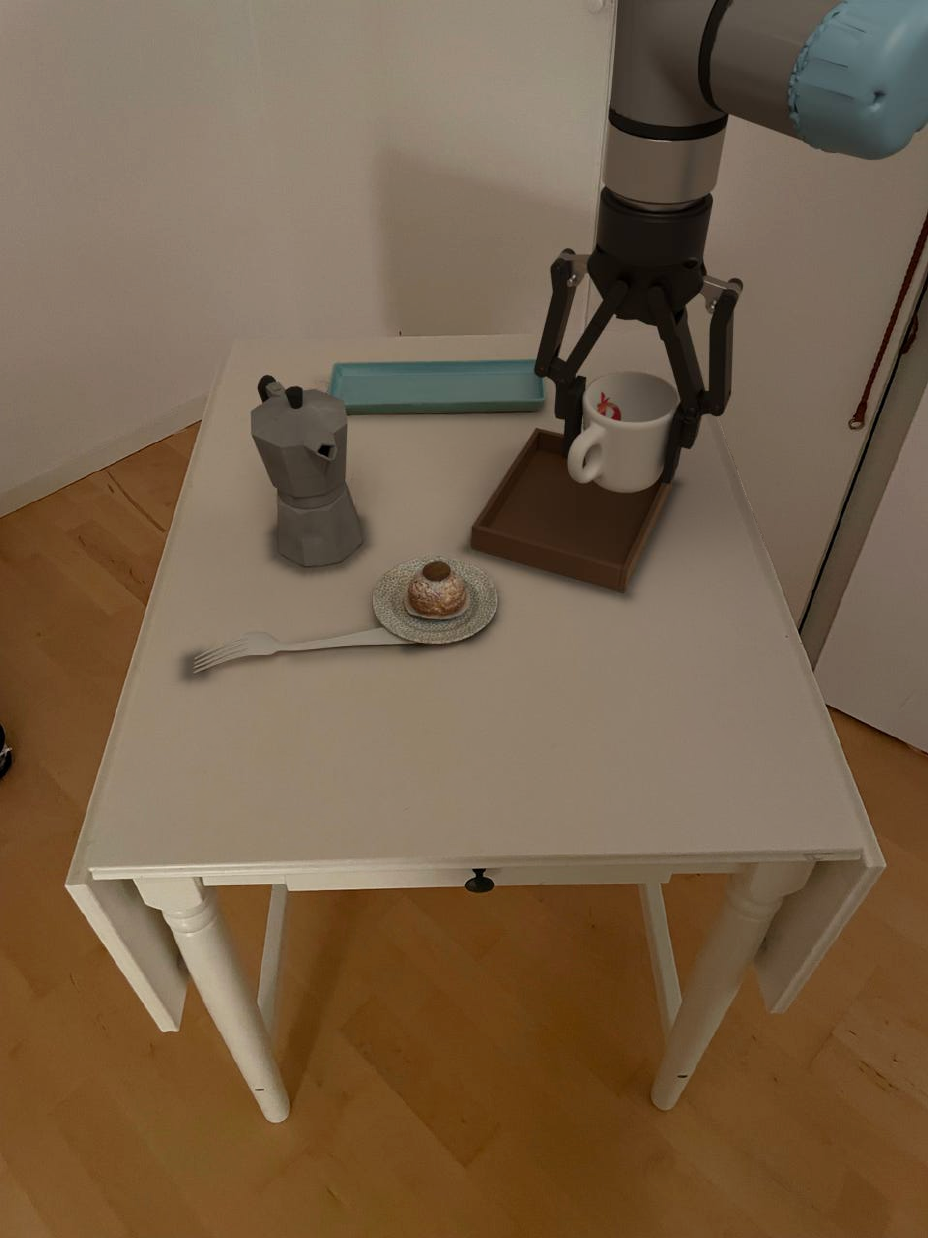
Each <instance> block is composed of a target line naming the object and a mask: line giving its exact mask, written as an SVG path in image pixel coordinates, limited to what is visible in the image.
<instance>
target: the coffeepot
mask: <svg viewBox="0 0 928 1238" xmlns="http://www.w3.org/2000/svg"><path fill="white" fill-rule="evenodd" d="M256 388H257V391H258V394H259V398H260V400H261V403H260V404H259V405H257V406H256V407H254V408H253V409H251V410H250V435H251V437H252V439H253V442H254V444H255V446H256V449H257V451H258V454H259V456H260V458H261V462H262V463H263V466H264V469H265V471H266V473H267V475H268V478H269V480H270V483H271V486H272V487H273V488H275V489H276V512H277V513H276V514H277V523H276V524H277V544H278V545H277V546H278V554H280V555H282V556H283V557H284V558H286V559H288V560H289V561H290V562H292V563H295V564H297V565H299V566H300V565H301V566H303V567H312V568H316V567H317V568H318V567H326V566H330V565H331V566H332V565H334V564H337V563H340V562H342V561H344V560H346V559H347V558H349V557H350V556H351V555H353V553H354V552H355V551H356V550H357V549H358V547H359V546H360V545H361V544H362V543H363V535H362V528H361V520H360V518H359V517H360V516H359V514H358V511H357V509H356V506H355V503H354V501H353V500H354V499H353V498H352V495H351V492H350V489H349V487H348V486H349V485H348V483H347V481H346V477H347V456H348V455H347V452H348V425H349V423H348V416H347V415H348V414H346V409H345V403H344V401H343V400H341V399H339V398H336V397H334V396H331V395H329V394H328V392H324V391H322V390H319V389H318V388H313V389H312V388H309V389H304V388H303V387H301V386H299V385H296V386H295V385H294V386H293V385H292V386H289V387H288V388H285V386H284V385H283V384H282V383H281V382H280V381H277V380H276V378H275V377H274V376H272V375H270V374H265V375H262V377H260V379H259V382H258V384H257V387H256Z"/></svg>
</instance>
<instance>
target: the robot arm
mask: <svg viewBox="0 0 928 1238" xmlns="http://www.w3.org/2000/svg"><path fill="white" fill-rule="evenodd" d="M616 4H617V5H616V20H615V34H614V37H615V38H614V52H613V61H612V63H613V65H612V75H611V87H610V99H609V104H608V113H607V114H608V115H607V121H606V122H607V123H606V133H605V141H604V152H603V161H602V170H601V181H602V183H603V184H604V186H603V187H602V188H601V191H600V194H599V203H598V213H597V214H598V215H597V225H596V233H595V234H596V236H595V246H594V249H593V251H592V252H591V254H587V253H586V254H584V253H582V254H579V253H578V254H577V253H576V252H575V251H574V249H572V248H569V247H566V248H564V249H562V251H561V252H560V253H559V254H558V256H557V257H556V258H555V260H554V261H553V263H551V265H550V267H549V273H550V281H551V290H552V293H551V297H550V301H549V304H548V305H549V306H548V310H547V314H546V318H545V322H544V327H543V330H542V333H541V334H542V335H541V338H540V343H539V347H538V350H537V355H536V358H535V359H536V363H535V367H534V372H535V374H536V375H537V376H538V377H540V378H544V379H545V378H548V379H549V380H550V381H552V382H553V384H554V386H555V394H554V409H553V413H554V416H555V419H558V420H561V421H564V424H563V425H564V426H563V434H564V437H563V449H562V458H565V459H568V454H569V450H570V447H571V445H572V443H573V442H574V440H575V439H576V438H577V437H578V436H579V435H580V434H581V433H582V428H583V427H582V426H583V409H582V397H583V393H584V391H585V389H586V388H587V376H583V375H577V374H578V372H579V370H580V369H581V367H582V365H583V364H584V362H585V361H586V360H587V358H588V356H589V355H590V353H591V352H592V350H593V348H594V347H595V345H596V343H598V341H599V338H600V337H601V335H602V334H603V332H604V331H605V329H606V327H607V326H608V325H609V323H610V321H611V319H612V318H613V316H615V319H617V320H622V321H637V322H640V323H642V324H645V325H647V326H652V327H656V329H657V332H658V336H659V339H660V341H663V344H664V347H665V351H666V354H667V358H668V362H669V365H670V368H671V369H670V370H671V373H672V376H673V379H674V383H675V386H676V390H677V391H678V393H679V397H680V400H681V401H680V403H679V405H678V407H677V409H676V411H675V413H674V415H673V419H672V425H671V430H670V436H669V441H668V447H667V452H666V457H665V463H664V468H663V474H662V479H661V482H662V483H666V484H670V483H671V480H672V478H673V476H674V474H675V475H676V472H677V469H678V467H679V462H680V457H681V452H682V448H683V449H686V450H691V449H692V447H694V445H695V442H696V440H697V437H698V435H699V431H700V427H701V422H702V418H703V417H702V416H704V415H711V416H713V417H721V416H722V415H724V413H725V410H726V409H727V407H728V403H729V401H730V399H731V396H732V386H733V385H732V382H733V381H732V380H733V351H734V323H735V321H734V319H735V318H734V317H735V309H736V306H737V304H738V302H739V299H740V296H741V294H742V292H743V289H744V282H743V281H742V279H740V278H738V277H732V278H730V279H728V281H724V280H722V279H720V278H716V277H714V276H711V275H708V271H707V268H706V265H705V260H704V255H705V248H706V244H707V243H706V242H707V237H708V233H709V227H710V221H711V216H712V211H713V205H714V197H713V194H712V193H711V192H713V191H714V189H715V187H716V186H717V183H718V178H719V172H720V167H721V162H722V161H721V160H722V155H723V150H724V145H725V137H726V133H727V127H728V122H729V116H730V115H731V116H732V117H735V118H737V119H742V120H744V121H747V122H750V123H753V124H755V125H757V126H761V127H763V128H766V129H768V130H771V131H774V132H777V133H779V134H782V135H785V136H786V137H787V136H788V137H789V138H793V139H795V140H798V141H802V142H803V144H807V145H809V147H811V148H812V149H815V150H820V151H822V152H824V153H829V154H840V155H845V156H850V157H852V158H853V157H854V158H857V159H861V160H865V161H878V160H879V161H880V160H884V159H887V158H890V157H892V156H894V155H897V153H899V152H902V151H903V150H904V149H905V148H906V147H907V146H909V144H910V143H911V141H912V139H913V137H914V135H915V134H916V133H919V132H921V131H922V130H924V128H925V127H926V126H927V124H928V0H617V3H616ZM586 274H588V275H589V278H590V279H591V281H592V283H593V285H594V287H595V288H596V290H597V292H598V294H599V295H600V297H601V299H602V301H601V303H600V304H599V306H598V308H597V309H596V311H595V312H594V314H593V316H592V318H591V319H590V321H589V323H588V324H587V326H586V328H585V329H584V331H583V332H582V334H581V336H580V337H579V339H578V341H577V342H576V344H575V346H574V347H573V348H572V350H571V352H570V354H569V356H568V357H567V359H566V360H564V359H563V358H561V357H559V356H560V352H561V349H562V344H563V342H564V341H563V340H564V337H565V333H566V330H567V326H568V322H569V318H570V314H571V311H572V308H573V304H574V299H575V296H576V291H577V288H578V286H579V285H580V284H581V283H582V282H583V279H584V278H585V275H586ZM699 294H700V295H701V296H702V297H704V300H705V302H704V303H705V304H704V307H705V309H706V313H708V314H709V315H711V319H710V323H709V331H708V332H709V333H708V334H709V335H708V336H709V337H708V339H709V341H708V343H709V344H708V390H706V387H705V383H704V380H703V375H702V372H701V368H700V365H699V359H698V356H697V353H696V350H695V346H694V345H695V344H694V341H693V338H692V334H691V330H690V326H689V322H688V321H689V314H688V309H687V305H688V304H689V303H690V302H691V301H692V300H693V299H694V298H696V297H697V296H698V295H699ZM675 471H676V472H675Z"/></svg>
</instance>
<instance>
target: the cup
mask: <svg viewBox="0 0 928 1238" xmlns="http://www.w3.org/2000/svg"><path fill="white" fill-rule="evenodd" d="M680 401H681V400H680V397H679V393H678V390H677V387H675V386H674V385H673V384H671V382H669V381H667V380H666V379H664V378H662V377H660V376H658V375H655V374H652V373H651V374H650V373H648V372H641V371H634V370H633V371H632V370H630V371H629V370H628V371H627V370H626V371H616V372H610V373H607V374H603V375H602V376H599V377H598V378H596V379H594V380H593V381H591V382H590V383H589V384H588V385H586V387H585V391H584V393H583V397H582V409H583V418H582V426H583V427H582V428H583V431H581V434H580V435H579V436H578V437H577V438H576V439H575V440H574V442H573V443H572V445H571V447H570V450H569V454H568V471H569V474H570V476H571V477H572V478H573V479H574V480H575V481H577V482H579V483H588V482H590V481H592V480H593V481H594V482H595V483H597V484H598V485H599V486H601V487H603V488H605V489H607V490H610V491H614V492H619V493H632V492H638V491H641V490H644V489H646V488H648V487H650V486H651V485H653V484H654V483H655V482H656V481H657V480H658V478H659V477H660V475H661V473H662V471H663V468H664V463H665V457H666V452H667V447H668V441H669V436H670V430H671V425H672V419H673V415H674V413H675V411H676V409H677V407H678V405H679V403H680ZM584 457H585V462H586V465H585V467H584V468H583V469H582V465H583V460H584Z"/></svg>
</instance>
